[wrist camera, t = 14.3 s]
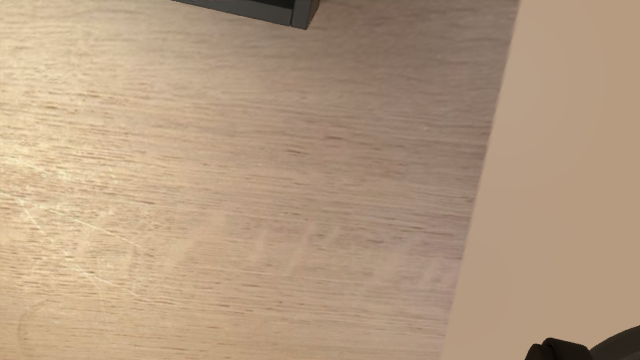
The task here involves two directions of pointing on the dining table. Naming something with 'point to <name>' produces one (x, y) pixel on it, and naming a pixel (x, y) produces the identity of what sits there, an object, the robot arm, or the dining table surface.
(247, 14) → the dish tub
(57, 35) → the dining table surface
